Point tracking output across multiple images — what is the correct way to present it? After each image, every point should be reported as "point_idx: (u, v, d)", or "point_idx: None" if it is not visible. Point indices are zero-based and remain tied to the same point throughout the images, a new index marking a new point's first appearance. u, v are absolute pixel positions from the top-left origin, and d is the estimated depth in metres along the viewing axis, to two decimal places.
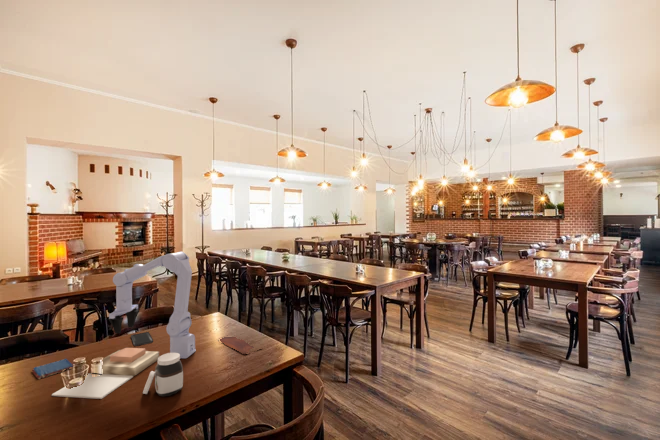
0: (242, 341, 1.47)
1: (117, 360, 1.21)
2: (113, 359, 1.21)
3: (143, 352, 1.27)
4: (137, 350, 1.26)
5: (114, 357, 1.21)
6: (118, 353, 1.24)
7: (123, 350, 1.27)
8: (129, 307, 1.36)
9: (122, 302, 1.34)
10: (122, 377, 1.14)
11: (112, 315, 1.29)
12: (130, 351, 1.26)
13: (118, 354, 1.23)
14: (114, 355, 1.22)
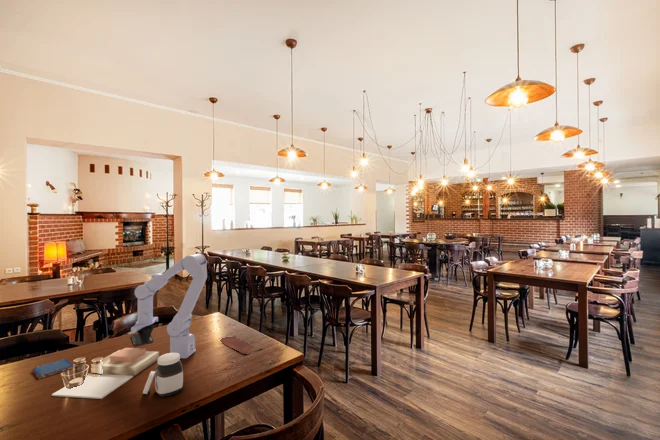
0: (242, 341, 1.47)
1: (117, 360, 1.21)
2: (113, 359, 1.21)
3: (143, 352, 1.27)
4: (137, 350, 1.26)
5: (114, 357, 1.21)
6: (118, 353, 1.24)
7: (123, 350, 1.27)
8: (150, 320, 1.34)
9: (143, 315, 1.32)
10: (122, 377, 1.14)
11: (134, 329, 1.28)
12: (130, 351, 1.26)
13: (118, 354, 1.23)
14: (114, 355, 1.22)
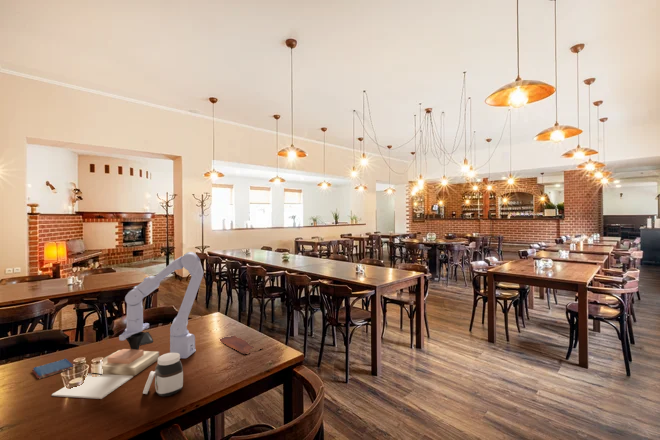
0: (242, 341, 1.46)
1: (114, 362, 1.20)
2: (110, 360, 1.20)
3: (141, 353, 1.26)
4: (135, 351, 1.25)
5: (112, 358, 1.20)
6: (116, 354, 1.22)
7: (121, 351, 1.25)
8: (140, 327, 1.28)
9: (133, 322, 1.26)
10: (122, 377, 1.14)
11: (122, 337, 1.21)
12: (127, 352, 1.25)
13: (115, 355, 1.22)
14: (111, 356, 1.21)
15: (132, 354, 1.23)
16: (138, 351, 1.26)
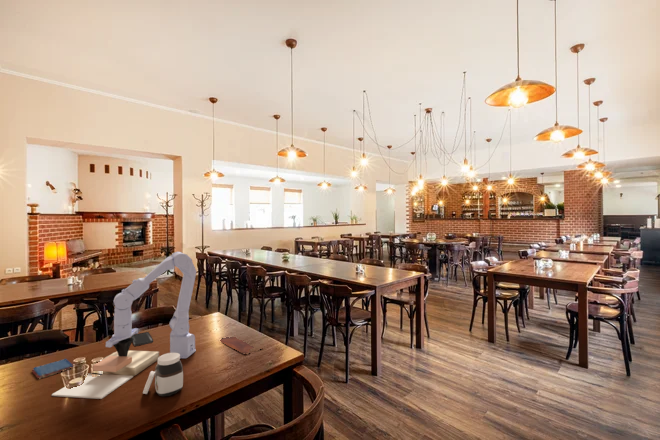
0: (242, 341, 1.47)
1: (100, 370, 1.13)
2: (96, 368, 1.14)
3: (129, 360, 1.19)
4: (122, 359, 1.19)
5: (97, 366, 1.14)
6: (102, 362, 1.16)
7: (108, 358, 1.19)
8: (128, 333, 1.21)
9: (120, 328, 1.19)
10: (122, 377, 1.14)
11: (109, 343, 1.15)
12: (115, 359, 1.18)
13: (101, 363, 1.15)
14: (97, 364, 1.14)
15: (119, 361, 1.16)
16: (126, 358, 1.19)
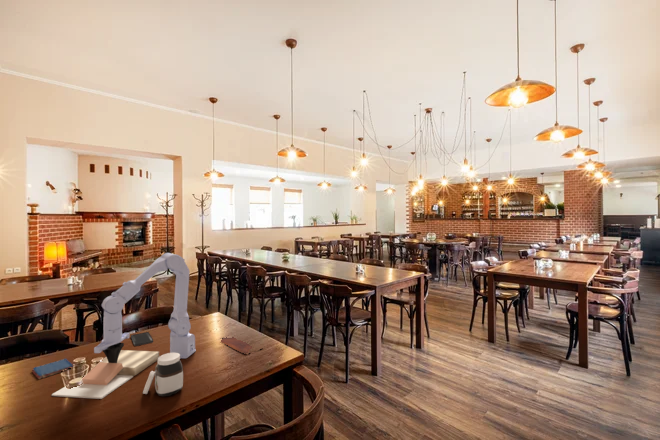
0: None
1: (90, 383, 1.09)
2: (86, 382, 1.09)
3: (119, 368, 1.15)
4: (112, 367, 1.14)
5: (86, 380, 1.09)
6: (91, 373, 1.11)
7: (97, 367, 1.14)
8: (118, 338, 1.16)
9: (110, 332, 1.14)
10: (122, 377, 1.14)
11: (98, 349, 1.10)
12: (104, 368, 1.13)
13: (90, 375, 1.10)
14: (86, 377, 1.10)
15: (109, 372, 1.12)
16: (116, 366, 1.14)
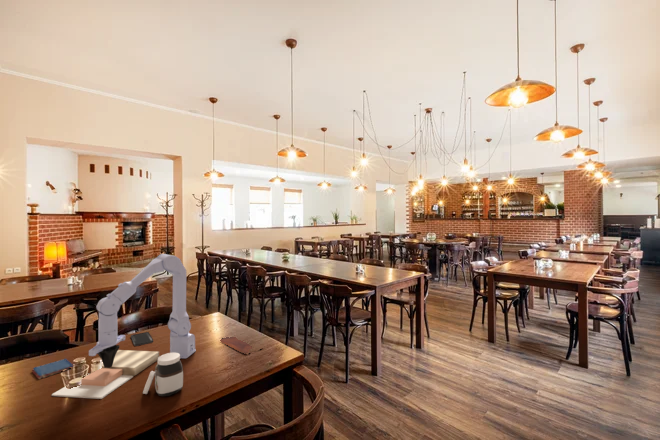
0: None
1: (89, 384, 1.09)
2: (85, 382, 1.09)
3: (119, 373, 1.14)
4: (113, 371, 1.14)
5: (86, 380, 1.09)
6: (91, 375, 1.11)
7: (97, 371, 1.14)
8: (114, 340, 1.14)
9: (105, 335, 1.12)
10: (122, 377, 1.14)
11: (92, 352, 1.08)
12: (104, 372, 1.13)
13: (90, 376, 1.10)
14: (86, 378, 1.09)
15: (109, 375, 1.12)
16: (116, 371, 1.14)
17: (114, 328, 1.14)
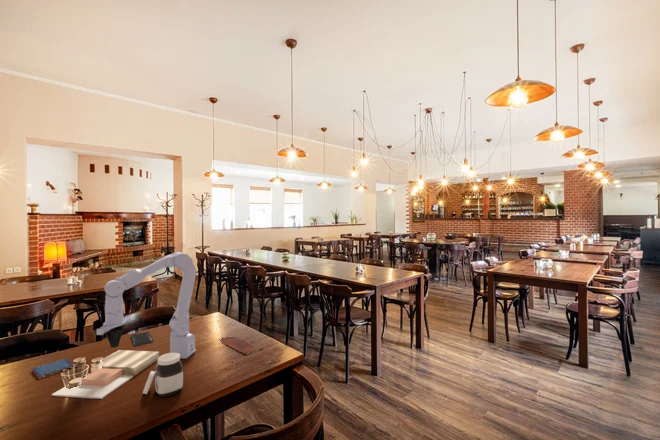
0: (243, 341, 1.47)
1: (89, 384, 1.09)
2: (85, 382, 1.09)
3: (119, 373, 1.14)
4: (113, 371, 1.14)
5: (86, 380, 1.09)
6: (91, 375, 1.11)
7: (97, 371, 1.14)
8: (120, 321, 1.19)
9: (112, 315, 1.17)
10: (122, 377, 1.14)
11: (100, 331, 1.13)
12: (104, 372, 1.13)
13: (90, 376, 1.10)
14: (86, 378, 1.09)
15: (109, 375, 1.12)
16: (116, 371, 1.14)
17: (119, 310, 1.19)
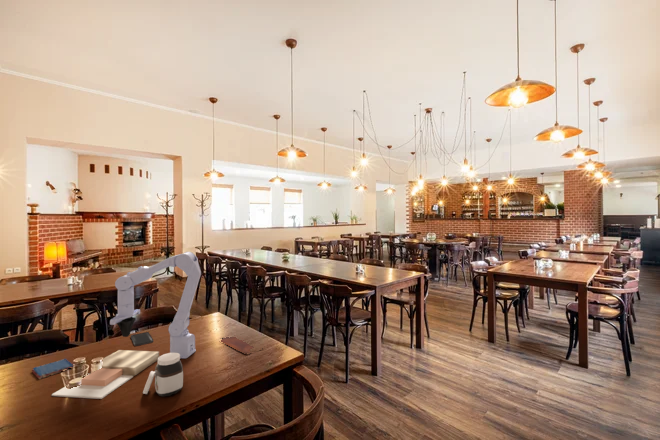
0: None
1: (89, 384, 1.09)
2: (85, 382, 1.09)
3: (119, 373, 1.14)
4: (113, 371, 1.14)
5: (86, 380, 1.09)
6: (91, 375, 1.11)
7: (97, 371, 1.14)
8: (131, 312, 1.30)
9: (124, 307, 1.28)
10: (122, 377, 1.14)
11: (113, 321, 1.23)
12: (104, 372, 1.13)
13: (90, 376, 1.10)
14: (86, 378, 1.09)
15: (109, 375, 1.12)
16: (116, 371, 1.14)
17: (126, 303, 1.28)
